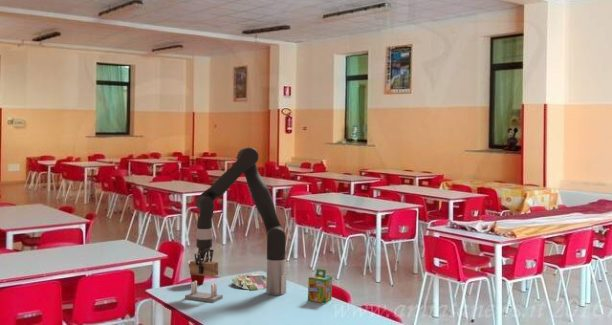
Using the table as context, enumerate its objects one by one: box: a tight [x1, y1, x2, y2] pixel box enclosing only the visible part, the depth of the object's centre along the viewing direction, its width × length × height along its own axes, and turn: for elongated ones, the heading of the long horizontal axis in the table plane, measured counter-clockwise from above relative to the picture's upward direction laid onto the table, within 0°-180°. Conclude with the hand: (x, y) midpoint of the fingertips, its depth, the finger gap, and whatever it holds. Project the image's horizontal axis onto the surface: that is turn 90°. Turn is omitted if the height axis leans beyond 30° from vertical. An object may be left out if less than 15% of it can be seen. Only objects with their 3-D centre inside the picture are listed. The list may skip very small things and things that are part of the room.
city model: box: [231, 273, 267, 291], centre depth 318 cm, size 25×23×6 cm
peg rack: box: [184, 281, 223, 303], centre depth 290 cm, size 16×8×8 cm, turn 68°
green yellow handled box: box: [307, 268, 333, 304], centre depth 291 cm, size 9×9×15 cm
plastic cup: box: [187, 259, 206, 286], centre depth 317 cm, size 11×11×12 cm
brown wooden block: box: [189, 259, 219, 277], centre depth 290 cm, size 4×13×6 cm, turn 68°
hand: (203, 272), depth 290 cm, fingers closed on brown wooden block, 4 cm apart
